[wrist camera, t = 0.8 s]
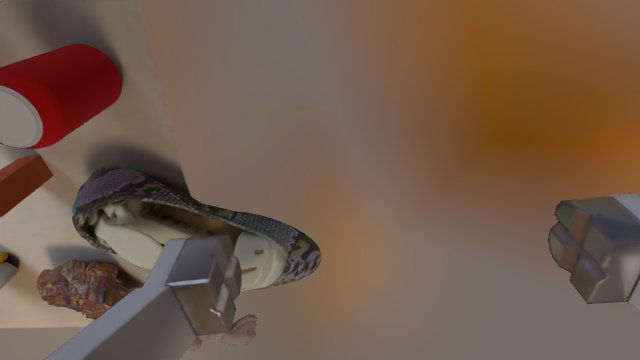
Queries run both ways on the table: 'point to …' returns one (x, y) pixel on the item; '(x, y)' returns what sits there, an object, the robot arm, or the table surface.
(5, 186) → the letter S
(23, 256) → the table surface
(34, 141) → the beverage can
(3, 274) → the roller toy
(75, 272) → the mineral specimen
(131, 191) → the ballet flat
